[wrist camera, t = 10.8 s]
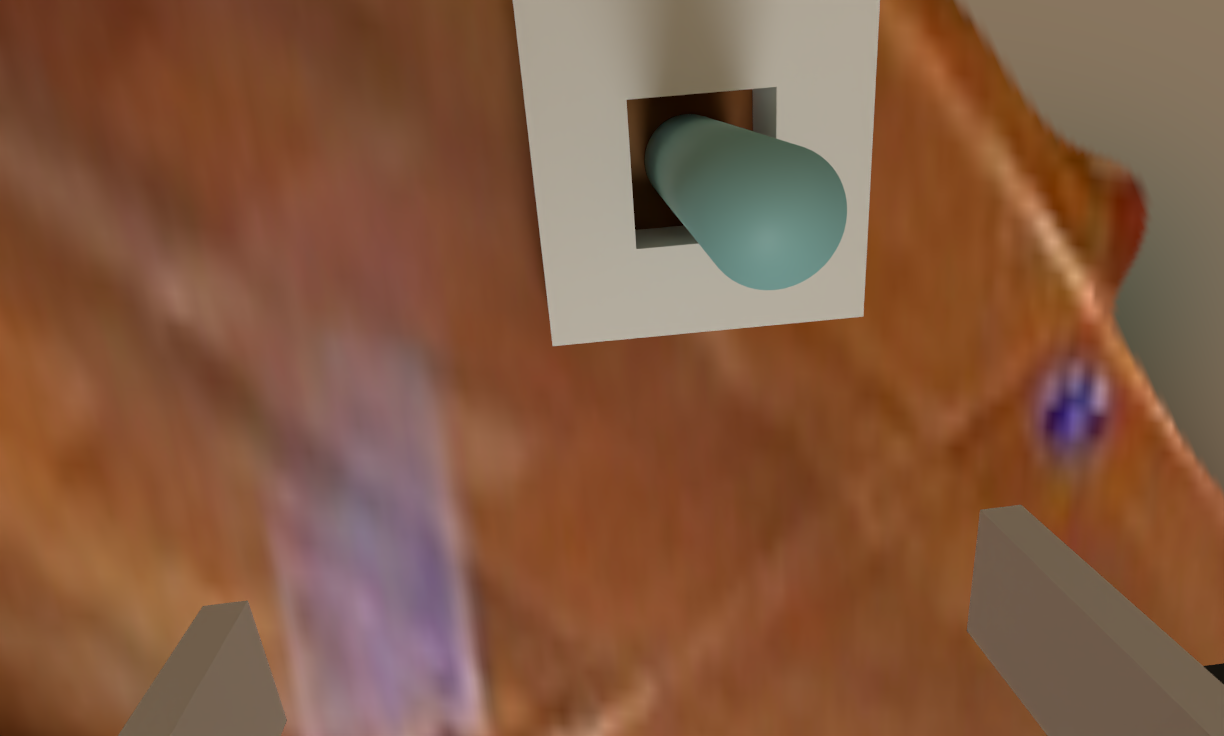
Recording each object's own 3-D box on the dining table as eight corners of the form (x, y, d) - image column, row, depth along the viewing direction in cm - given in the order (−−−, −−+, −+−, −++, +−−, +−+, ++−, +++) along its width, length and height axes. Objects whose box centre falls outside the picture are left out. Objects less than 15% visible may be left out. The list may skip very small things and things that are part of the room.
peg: (647, 206, 35) (704, 296, 21) (641, 117, 33) (700, 150, 19) (731, 199, 35) (844, 283, 21) (729, 110, 33) (850, 137, 20)
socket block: (553, 318, 37) (552, 345, 33) (517, 4, 31) (512, -5, 28) (833, 291, 37) (863, 316, 33) (844, -23, 32) (881, -35, 28)
